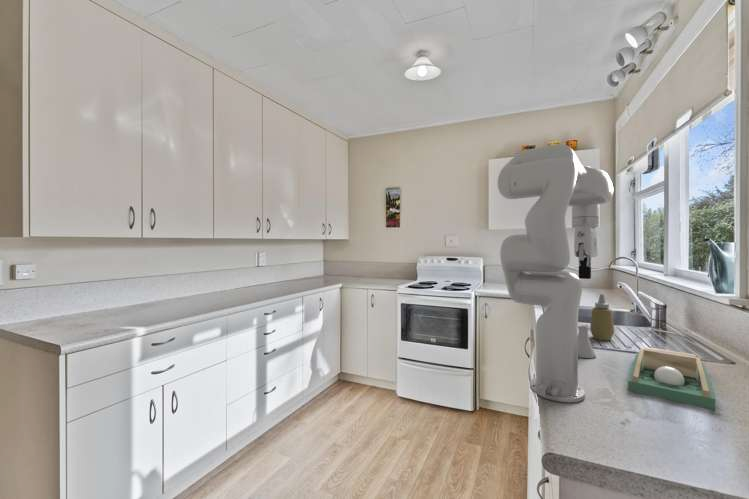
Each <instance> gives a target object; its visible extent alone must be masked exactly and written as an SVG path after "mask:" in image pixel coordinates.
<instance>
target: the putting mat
mask: <svg viewBox="0 0 749 499" xmlns="http://www.w3.org/2000/svg"><path fill="white" fill-rule="evenodd" d="M654 373H655V370H650V369H644V347H643V348H641V347H640V348H639V350H638V352H637V351H636V352H635V355H634V359H633V363H632V366H631V370H630V373H629V377H628V384H627V390H628V391H630V392H634V393H639V394H643V395H648V396H652V397H658V398H661V399H665V400H671V401H674V402H679V403H683V404H687V405H692V406H696V407H701V408H706V409H710V410H715V411H716V397H715V393H714V390H713V386H712V384H711V380H710V376H709V373H708V370H707V367H706V363H705V362H702V360H701V357H699V356H696V378H693V377H688V376H683V377H684V381H685V382H684V386H679V385H671V384H666V383H662V382H659V381H656V380H655V379H654Z"/></svg>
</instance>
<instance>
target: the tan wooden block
mask: <svg viewBox="0 0 749 499" xmlns="http://www.w3.org/2000/svg"><path fill="white" fill-rule="evenodd" d="M643 349H644V369H650V370H655V371H656V370H657V369H658V368H660V367H663V366H668V367H672V368H675V369H677V370H678V371H679V372H680V373H681V374H682V375H683V376H688V377H693V378H696V357H697V355H696V354H693V353H688V352H680V351H674V350H668V349H663V348H662V349H661V348H655V347H654V348H653V347H647V346H644V347H643Z"/></svg>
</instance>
